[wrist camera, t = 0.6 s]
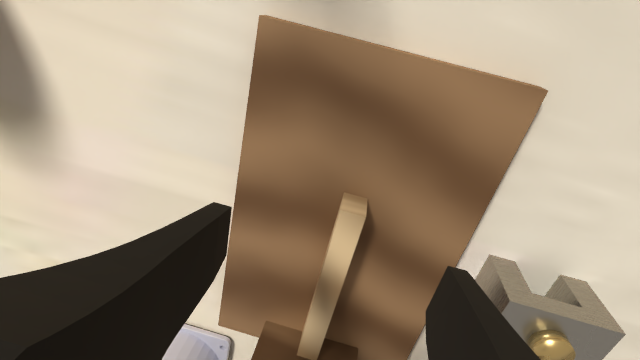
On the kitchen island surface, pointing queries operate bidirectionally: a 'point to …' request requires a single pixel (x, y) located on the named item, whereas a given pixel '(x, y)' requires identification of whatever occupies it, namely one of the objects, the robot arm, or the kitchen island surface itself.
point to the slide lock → (551, 313)
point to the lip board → (358, 190)
